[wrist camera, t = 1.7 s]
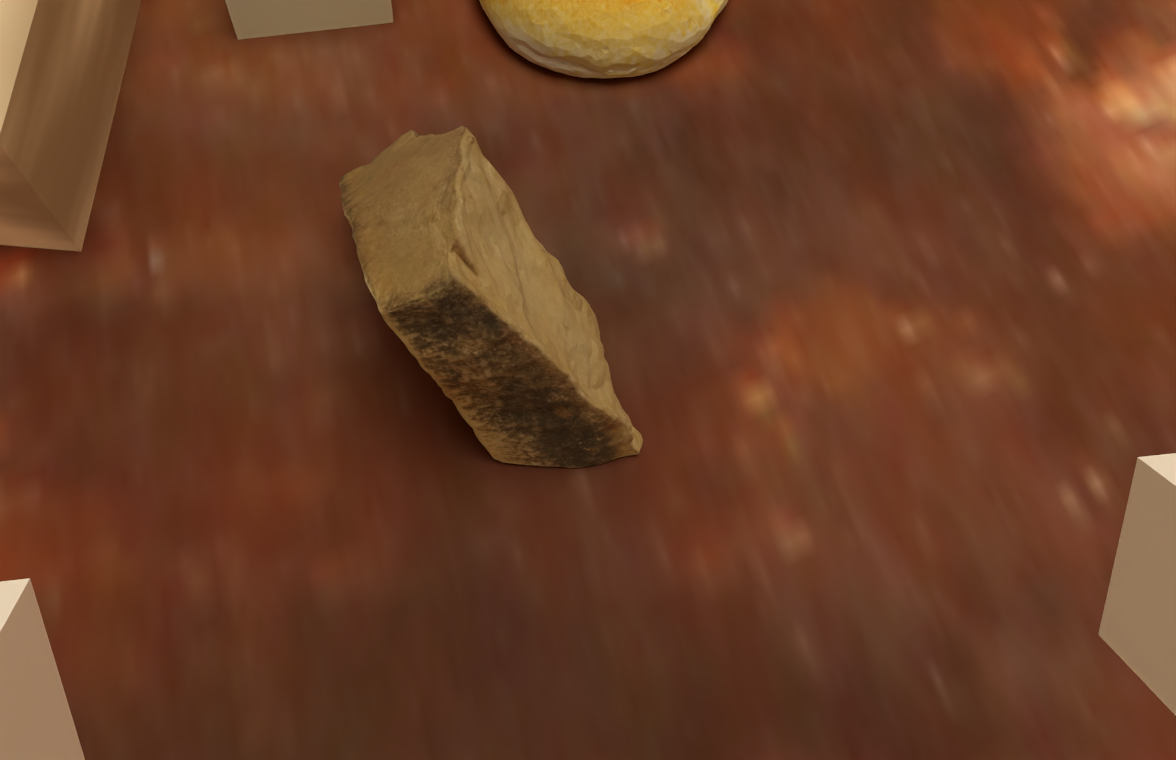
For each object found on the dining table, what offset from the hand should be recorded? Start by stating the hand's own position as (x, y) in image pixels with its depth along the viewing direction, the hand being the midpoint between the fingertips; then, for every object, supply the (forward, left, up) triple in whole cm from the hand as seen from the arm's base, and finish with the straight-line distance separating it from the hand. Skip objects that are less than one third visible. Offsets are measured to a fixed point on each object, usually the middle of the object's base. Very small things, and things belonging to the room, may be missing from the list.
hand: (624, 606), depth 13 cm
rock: (-2, +11, -16) cm, 20 cm away
